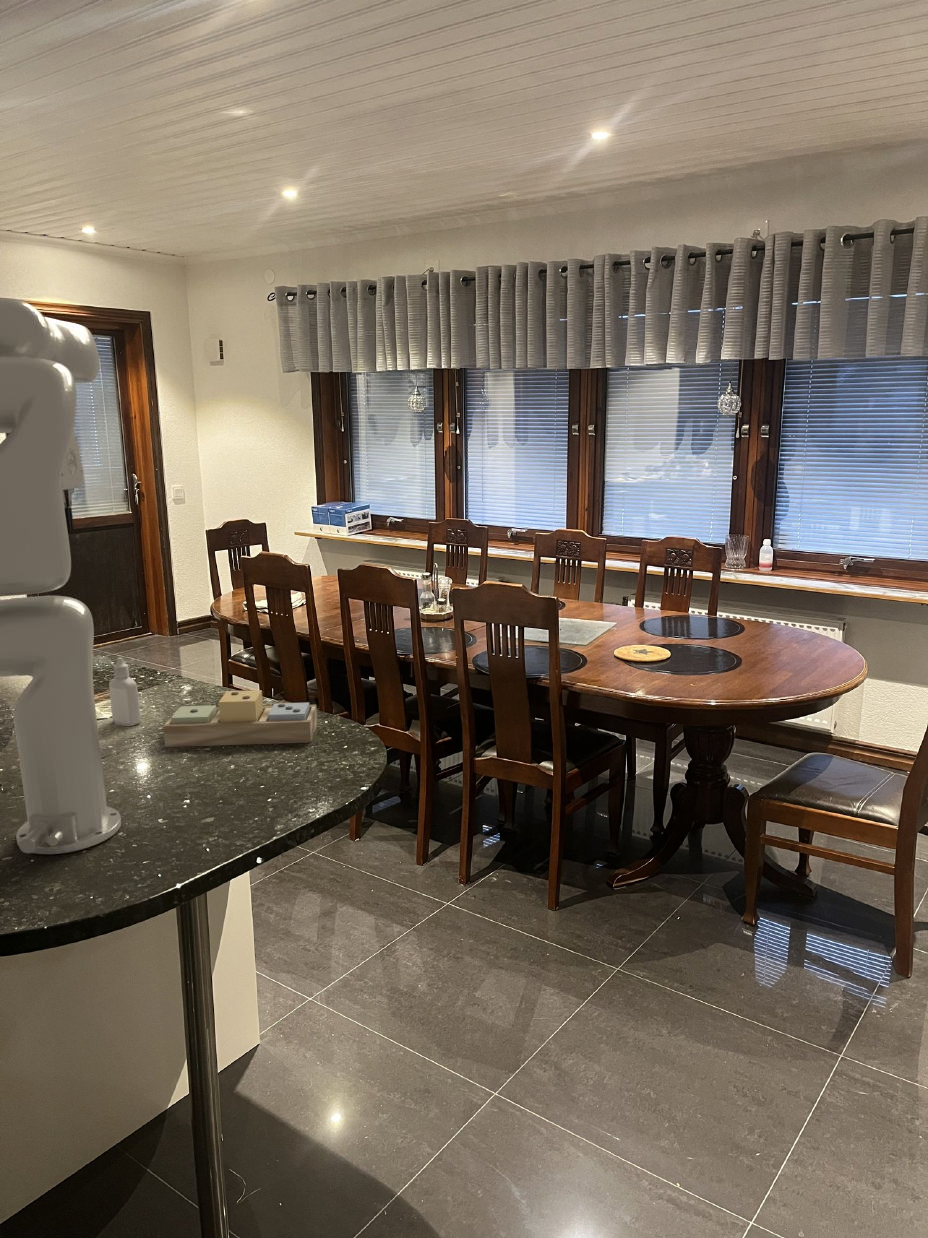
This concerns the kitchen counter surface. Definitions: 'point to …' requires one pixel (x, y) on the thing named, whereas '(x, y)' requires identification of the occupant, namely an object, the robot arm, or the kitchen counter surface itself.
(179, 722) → the tile one sage
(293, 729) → the tray
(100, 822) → the robot arm
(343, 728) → the kitchen counter surface
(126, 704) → the eye dropper bottle
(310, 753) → the kitchen counter surface
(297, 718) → the tile three blue
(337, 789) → the kitchen counter surface
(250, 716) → the tile two ochre
